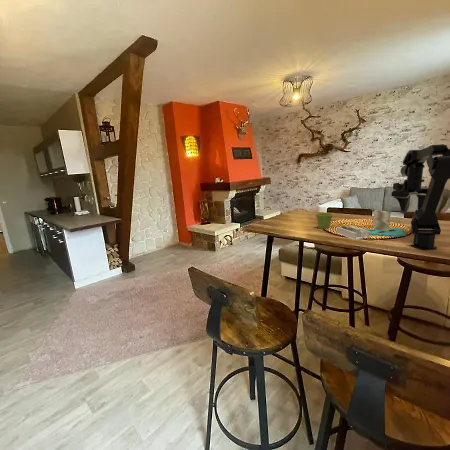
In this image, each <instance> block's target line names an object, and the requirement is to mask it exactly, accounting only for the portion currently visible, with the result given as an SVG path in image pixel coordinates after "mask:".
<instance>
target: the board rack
mask: <svg viewBox="0 0 450 450" xmlns="http://www.w3.org/2000/svg"><path fill="white" fill-rule="evenodd" d="M346 226H347V227H355V228H358V229H360V237H356V233H355V232H352V231H349V230H346V229H343V228H341V226H340V227H339V226H336V232H334V233H336V234H339V235H341V236H343V237H346V238H349V239H351V240H360V239H367V238H370V236H371V235H370V231H367V230H364V229H365V228H363V229H362V228H361V227H357V226H355V225H352V224H351V225H349V226H348V225H346Z"/></svg>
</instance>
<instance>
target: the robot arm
mask: <svg viewBox="0 0 450 450" xmlns="http://www.w3.org/2000/svg"><path fill="white" fill-rule="evenodd" d="M425 163H426V164H427V167H428V173H429V175H430V177H431V178H430V181H429V183H428V184H429V185H428V187H422V183H425V179H423V176H424V175H423V174H424V168H425V167H426V166H425V165H424V164H425ZM402 165H403V166H402V167H401V168H400V175H402V176H404V177H406V179H404V181H403V182H402V183H400V182H395V183H393V185H392V189H393V190H392V191H391V197H393V199H395V200H397V202H398V204H399V207H400V210H401V212H405V210H406V208H407V205H408V202H409V199H410V197H409V196H410V195H411V196H412V195H416V197H417V209H416V210H415V211H414V214H413V217H412V218H411V220H410V228H411V234H414V237H413V243H412V244H410V246H411V247H414V248H417V249H420V250H423V251H428V250H435V249H437V246H435V241H436V236H438V235H439V236H440V235H441V232H442V229H441V227H440V223H439V217H438V215H437V213H436V212H437V209H438V206H439V204H440V201H441V198H442V195H443V192H444V189H445V187H446V185H447V181H449V180H450V148H449V147H448V145H447V144H444V143H443V144H441V143H440V144H432V145H429V146H427V147H423V148H422V149H410V150H408V152H406V154H405V156H404V158H403V160H402Z"/></svg>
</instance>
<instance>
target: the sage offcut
mask: <svg viewBox="0 0 450 450" xmlns="http://www.w3.org/2000/svg"><path fill="white" fill-rule="evenodd" d="M355 227H356V226H354V227H350V228H351V231H352V232H355V233H356V237H360V229H358V228H359V227H358V228H355Z"/></svg>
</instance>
